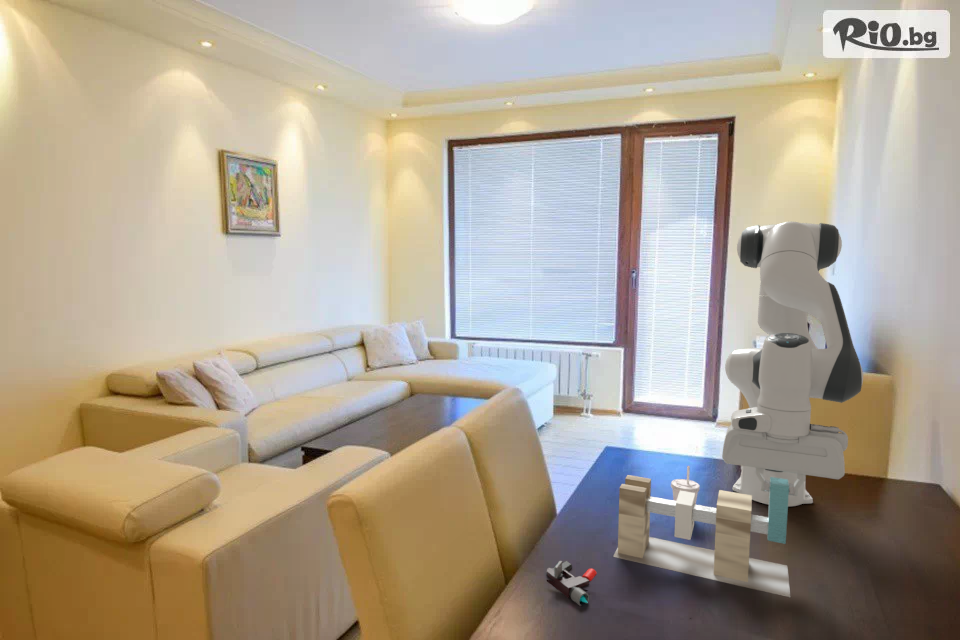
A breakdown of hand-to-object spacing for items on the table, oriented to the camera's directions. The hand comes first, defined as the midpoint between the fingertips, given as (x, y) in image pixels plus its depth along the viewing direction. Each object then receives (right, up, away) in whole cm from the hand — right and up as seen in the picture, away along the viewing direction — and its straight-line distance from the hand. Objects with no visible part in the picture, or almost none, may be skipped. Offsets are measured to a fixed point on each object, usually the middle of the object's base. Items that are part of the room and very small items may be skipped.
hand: (778, 492), depth 106 cm
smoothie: (-8, -16, +27) cm, 32 cm away
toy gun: (-38, -19, +1) cm, 42 cm away
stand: (-12, -17, +8) cm, 23 cm away
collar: (-15, -10, +8) cm, 20 cm away
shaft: (-11, -8, +6) cm, 15 cm away
